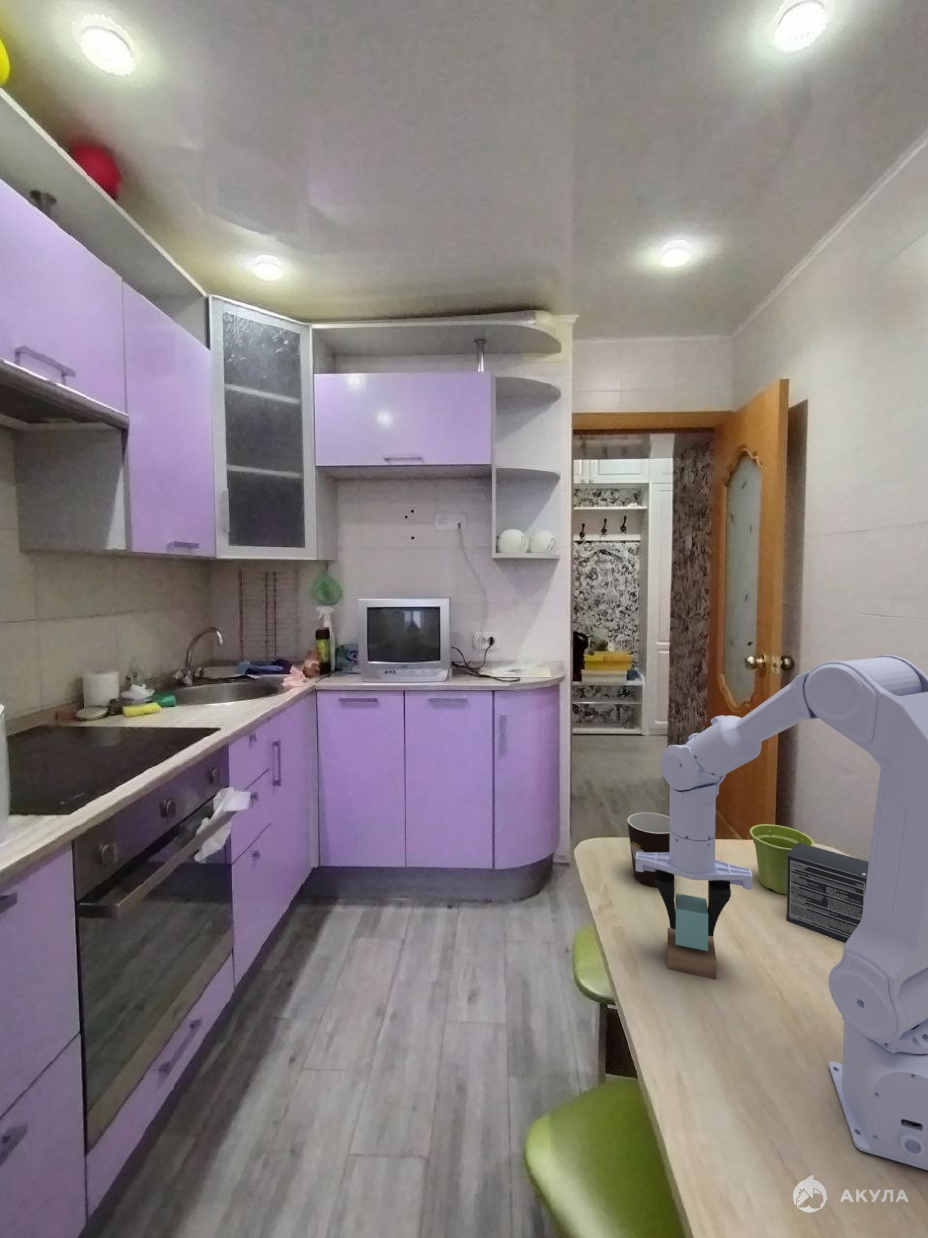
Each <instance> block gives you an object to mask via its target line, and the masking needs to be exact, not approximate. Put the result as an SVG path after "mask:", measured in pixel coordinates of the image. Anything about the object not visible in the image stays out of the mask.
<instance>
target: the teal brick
mask: <svg viewBox="0 0 928 1238" xmlns="http://www.w3.org/2000/svg"><path fill="white" fill-rule="evenodd" d="M674 902H675V917H676V930H675V937H676V945H680V946H685V947H690V948H695V949H700V950H705V951H708V900H707V898H706V897H700V896H695V895H694V896H693V895H688V894H682V893H675V896H674Z"/></svg>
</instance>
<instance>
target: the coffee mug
mask: <svg viewBox="0 0 928 1238" xmlns="http://www.w3.org/2000/svg"><path fill="white" fill-rule="evenodd" d="M627 829H628V836H629V846H630V853H631V863H632V872H633V877H634V879H635V881H636V882H638V883H639V884H641V885H643V886H646V887H649V888H653V889H657V886H656V883H655V872H653V871H647V870H644V872H639V871H636V852H645V853H670V816H669V815H668V816H667V815H665V814H661V813H656V812H645V811H644V812H635V813H632V814H631V815H629V816H628V817H627Z"/></svg>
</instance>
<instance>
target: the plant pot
mask: <svg viewBox="0 0 928 1238" xmlns="http://www.w3.org/2000/svg"><path fill="white" fill-rule="evenodd" d="M749 834H750V836H751V837H752V841H753V844H754V847H755V855H756V860H757V871H758V879H759V883H760V884H761V885H762V886H763V887H765V888H766V889H770V890H772V891H774V892H776V893H778V894H782V895H787V876H788V860H787V854H788V853H789V852H790V851H791V850H792V848H793V847H794V846H795V845H796V844H797V843H802V844H806V845H810V846H813V847H815V842H814V840H813V839H812V837H810V836H809V835H808V834H805V833H804V832H802V831H800V830H797V829H794V828H791V827H787V826H783V825H778V824H772V823H770V824H768V823H767V824H766V823H765V824H764V823H763V824H756V825H754V826H752V827H751V828H749Z"/></svg>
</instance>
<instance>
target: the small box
mask: <svg viewBox="0 0 928 1238" xmlns="http://www.w3.org/2000/svg"><path fill="white" fill-rule="evenodd" d="M787 860H788V876H787V894H786V915H785V916H786V917H785V920H786V921H788V922H790V923H792V924H796V925H798V926H801V927H802V928H806V929H809V930H812V931H814V932H817V933H820V934H821V935H822V934H823V935H825V936H828V937H830V938H832V939H835V940H839V941H841V942H843V943H846V942H847V940H848V939H849V937H850V936H851V935H852V933H853V932H854V930H855V929H856V928H857V926H858V925H859V923H860V922H861V920H862V913H863V905H864V897H865V889H866V881H867V873H868V865H869V860H864V859H860V858H857V857H853V856H849V855H846V854H842V853H837V852H835V851H832V850H827V849H823V848H821V847H817V846H814V847H813V846H810V845H806V844H802V843H797V844H796V845H795V846H794V847H793V848H792V850H791V851H790V852H789V853H788V854H787Z"/></svg>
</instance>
